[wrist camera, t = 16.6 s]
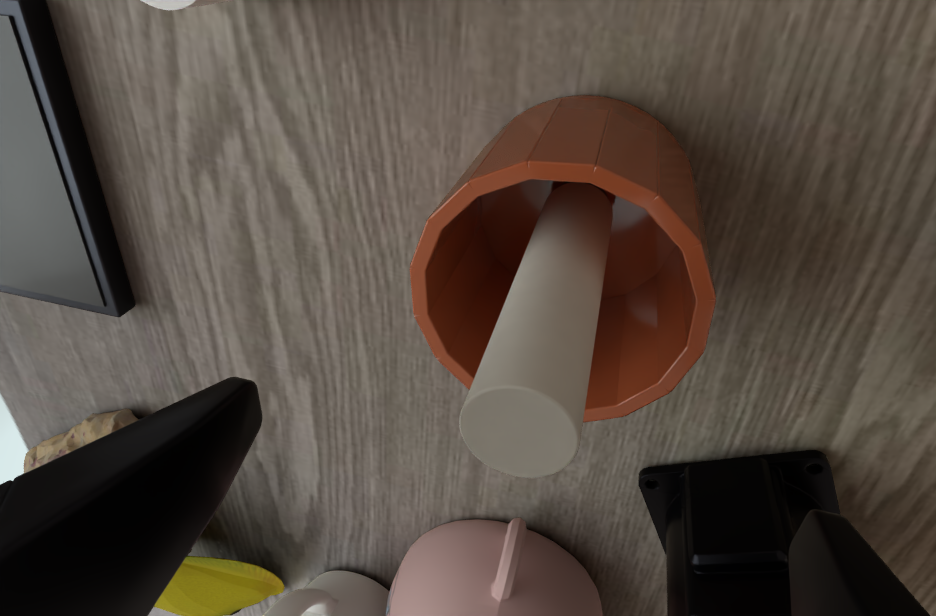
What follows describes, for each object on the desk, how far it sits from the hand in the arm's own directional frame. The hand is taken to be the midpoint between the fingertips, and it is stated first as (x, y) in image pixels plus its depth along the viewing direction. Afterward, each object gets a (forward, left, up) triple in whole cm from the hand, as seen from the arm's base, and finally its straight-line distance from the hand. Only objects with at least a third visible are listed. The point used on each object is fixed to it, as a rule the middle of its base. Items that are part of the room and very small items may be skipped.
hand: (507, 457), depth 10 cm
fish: (-11, +30, -7) cm, 33 cm away
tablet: (+8, +20, -11) cm, 24 cm away
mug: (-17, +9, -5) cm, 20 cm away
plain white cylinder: (0, 0, -10) cm, 10 cm away
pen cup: (0, 0, -11) cm, 11 cm away
